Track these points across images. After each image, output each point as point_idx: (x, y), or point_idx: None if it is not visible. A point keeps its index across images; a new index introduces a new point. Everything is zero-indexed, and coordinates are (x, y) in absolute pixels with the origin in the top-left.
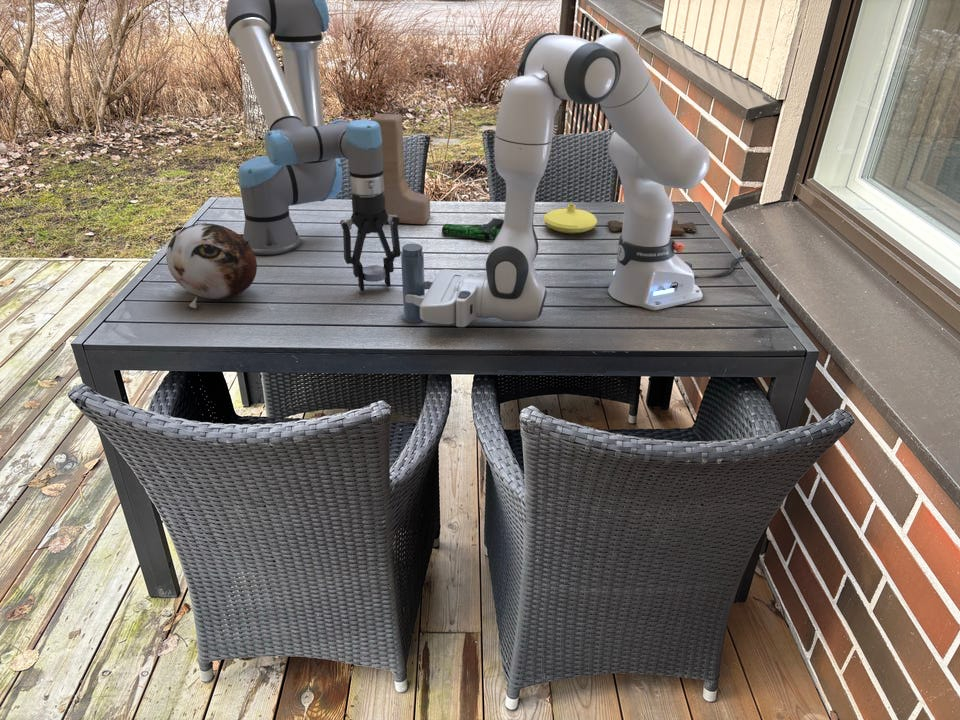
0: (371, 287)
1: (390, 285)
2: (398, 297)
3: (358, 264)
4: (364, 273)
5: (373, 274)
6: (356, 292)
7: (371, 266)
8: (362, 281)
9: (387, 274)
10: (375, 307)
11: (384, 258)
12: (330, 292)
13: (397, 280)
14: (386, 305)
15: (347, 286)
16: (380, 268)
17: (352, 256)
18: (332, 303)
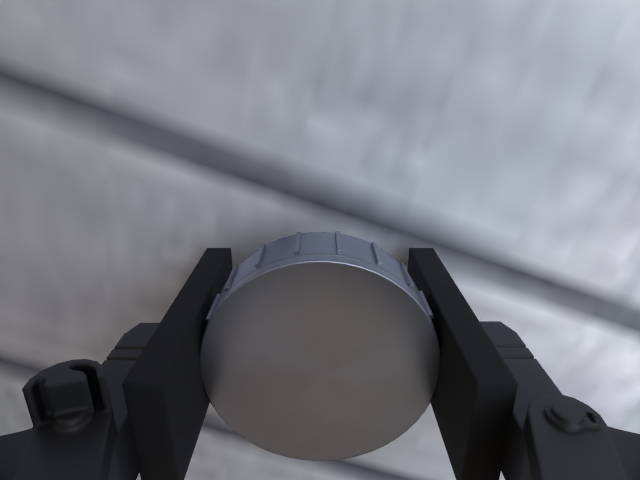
0: (306, 232)
1: None
2: None
3: (136, 467)
4: (219, 414)
5: (294, 451)
6: (190, 274)
7: (322, 286)
8: None
9: None
10: (267, 470)
11: (484, 404)
12: (7, 217)
13: (525, 179)
14: (329, 467)
15: (135, 157)
16: (395, 359)
17: (22, 462)
18: (29, 367)
